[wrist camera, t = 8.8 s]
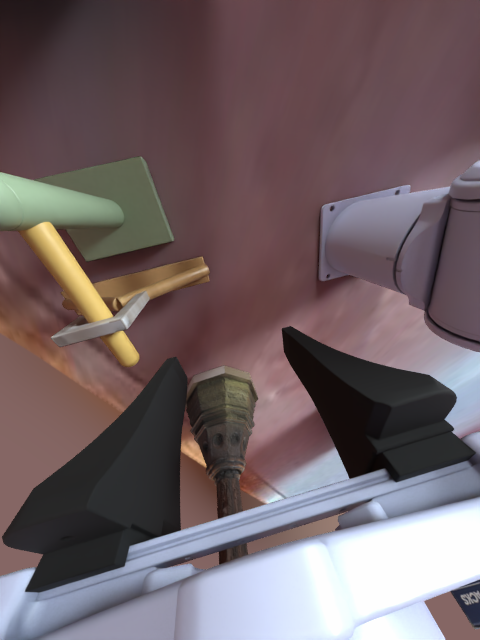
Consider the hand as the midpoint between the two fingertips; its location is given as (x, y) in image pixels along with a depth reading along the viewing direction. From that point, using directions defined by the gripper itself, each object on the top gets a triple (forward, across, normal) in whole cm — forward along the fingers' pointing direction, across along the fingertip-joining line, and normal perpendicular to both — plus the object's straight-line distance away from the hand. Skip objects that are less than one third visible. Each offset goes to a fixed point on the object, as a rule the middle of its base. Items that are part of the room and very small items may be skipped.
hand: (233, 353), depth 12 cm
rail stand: (+10, +7, -7) cm, 14 cm away
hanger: (+9, +7, -4) cm, 12 cm away
